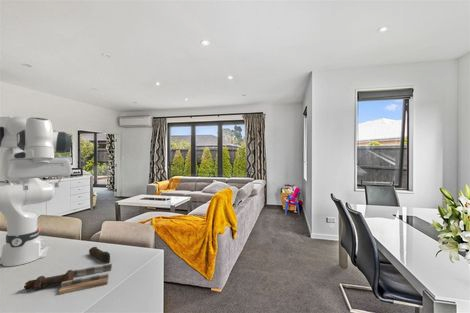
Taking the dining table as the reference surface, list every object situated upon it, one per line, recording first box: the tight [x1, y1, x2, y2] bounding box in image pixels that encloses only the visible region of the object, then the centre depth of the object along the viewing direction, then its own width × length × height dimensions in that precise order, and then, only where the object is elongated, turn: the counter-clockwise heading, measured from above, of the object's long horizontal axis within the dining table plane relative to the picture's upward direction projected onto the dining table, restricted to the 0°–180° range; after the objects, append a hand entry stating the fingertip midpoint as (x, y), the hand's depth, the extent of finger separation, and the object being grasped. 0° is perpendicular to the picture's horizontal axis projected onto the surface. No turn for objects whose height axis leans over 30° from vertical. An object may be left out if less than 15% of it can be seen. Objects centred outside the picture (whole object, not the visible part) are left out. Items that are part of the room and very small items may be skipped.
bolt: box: [23, 269, 75, 291], centre depth 87 cm, size 6×5×15 cm
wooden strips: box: [58, 263, 113, 295], centre depth 92 cm, size 16×16×2 cm
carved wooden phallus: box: [88, 246, 111, 264], centre depth 111 cm, size 19×4×5 cm, turn 52°
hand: (41, 188), depth 88 cm, fingers open, 8 cm apart
